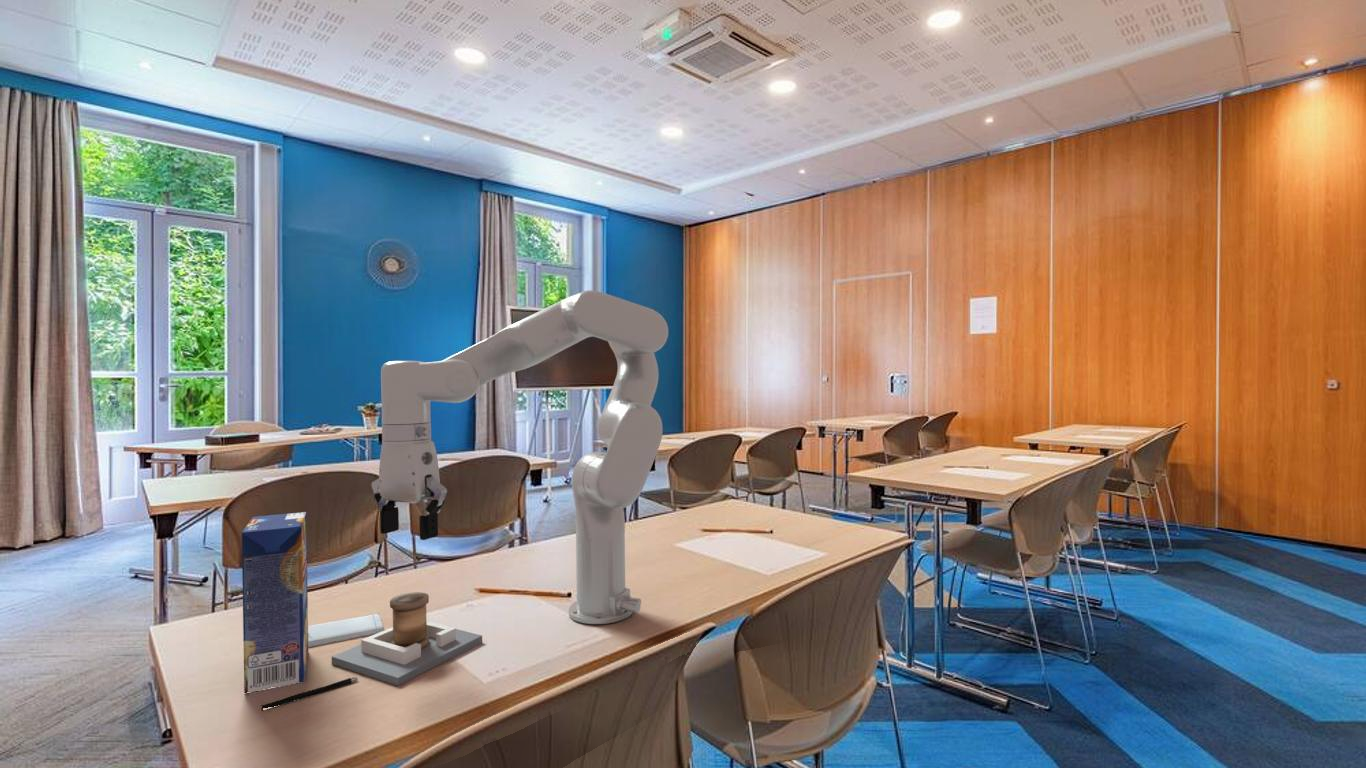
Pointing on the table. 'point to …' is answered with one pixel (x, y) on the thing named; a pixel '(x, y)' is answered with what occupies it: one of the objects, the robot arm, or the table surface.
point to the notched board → (405, 653)
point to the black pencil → (310, 693)
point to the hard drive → (344, 629)
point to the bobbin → (410, 619)
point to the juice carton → (275, 601)
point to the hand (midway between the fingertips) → (409, 534)
